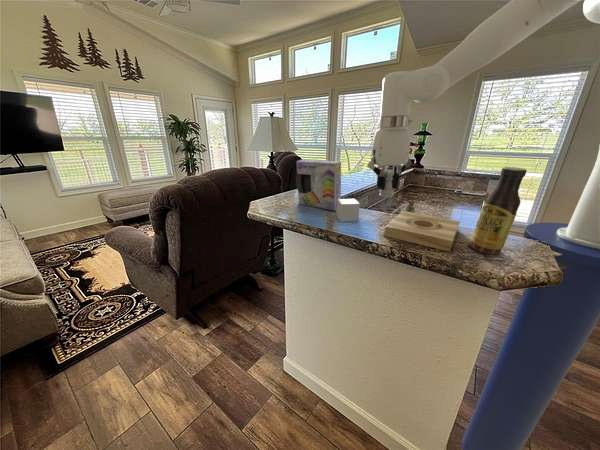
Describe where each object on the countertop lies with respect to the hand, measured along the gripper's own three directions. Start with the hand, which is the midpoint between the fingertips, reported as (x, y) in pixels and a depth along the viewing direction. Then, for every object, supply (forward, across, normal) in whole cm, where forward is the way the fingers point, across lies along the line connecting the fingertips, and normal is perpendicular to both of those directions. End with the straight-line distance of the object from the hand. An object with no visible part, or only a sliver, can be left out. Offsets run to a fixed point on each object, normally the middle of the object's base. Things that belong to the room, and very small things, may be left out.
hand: (387, 187), depth 73 cm
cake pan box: (+11, +18, -21) cm, 29 cm away
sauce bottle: (+12, -15, +23) cm, 30 cm away
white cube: (+11, +11, -5) cm, 16 cm away
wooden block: (+11, -6, +11) cm, 17 cm away
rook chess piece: (+3, 0, 0) cm, 3 cm away
